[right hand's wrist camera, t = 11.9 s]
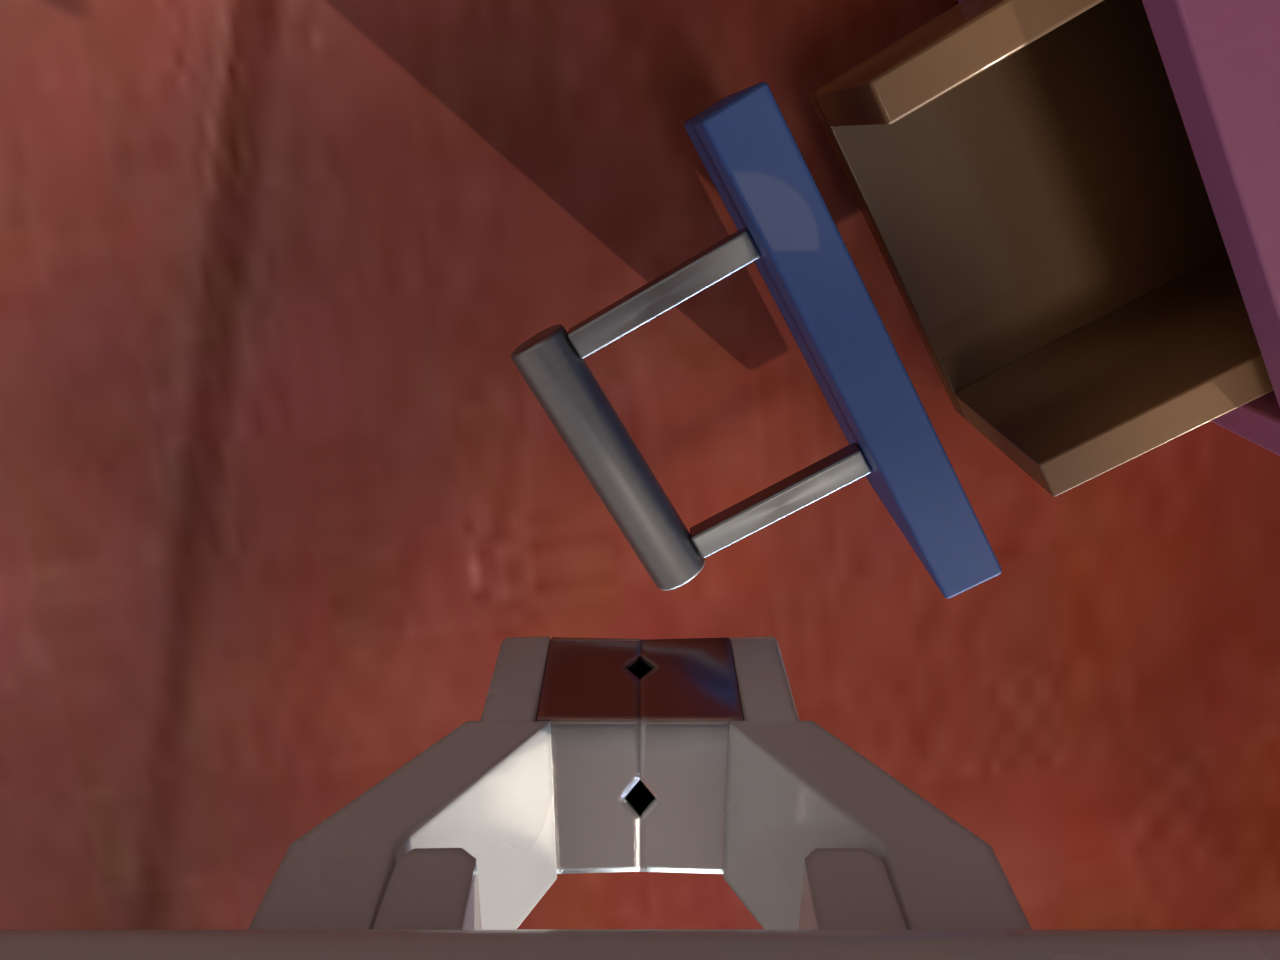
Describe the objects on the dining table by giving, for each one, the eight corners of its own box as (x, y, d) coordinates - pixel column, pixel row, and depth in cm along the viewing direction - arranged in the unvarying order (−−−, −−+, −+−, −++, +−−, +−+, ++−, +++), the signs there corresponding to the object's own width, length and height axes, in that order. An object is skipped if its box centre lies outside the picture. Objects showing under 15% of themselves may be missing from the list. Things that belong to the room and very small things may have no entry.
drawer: (691, 573, 25) (707, 715, 19) (487, 243, 22) (427, 285, 16) (1569, 125, 21) (1950, 122, 15) (1473, -361, 18) (1907, -619, 12)
